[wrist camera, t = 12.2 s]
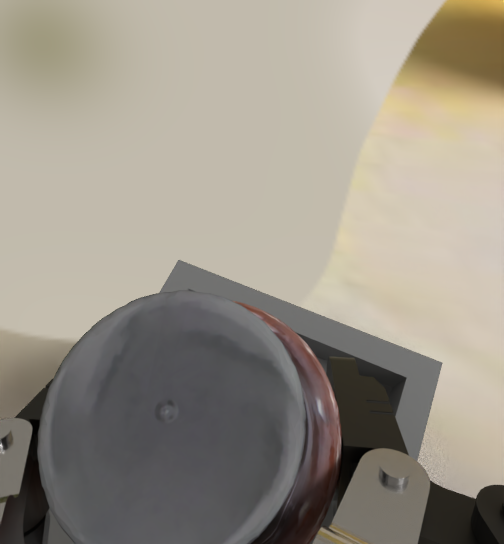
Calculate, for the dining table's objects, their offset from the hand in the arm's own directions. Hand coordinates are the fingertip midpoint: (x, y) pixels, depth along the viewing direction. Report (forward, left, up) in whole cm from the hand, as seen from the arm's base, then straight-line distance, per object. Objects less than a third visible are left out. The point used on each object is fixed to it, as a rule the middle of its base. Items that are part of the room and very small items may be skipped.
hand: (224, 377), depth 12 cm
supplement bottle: (0, +2, -5) cm, 6 cm away
